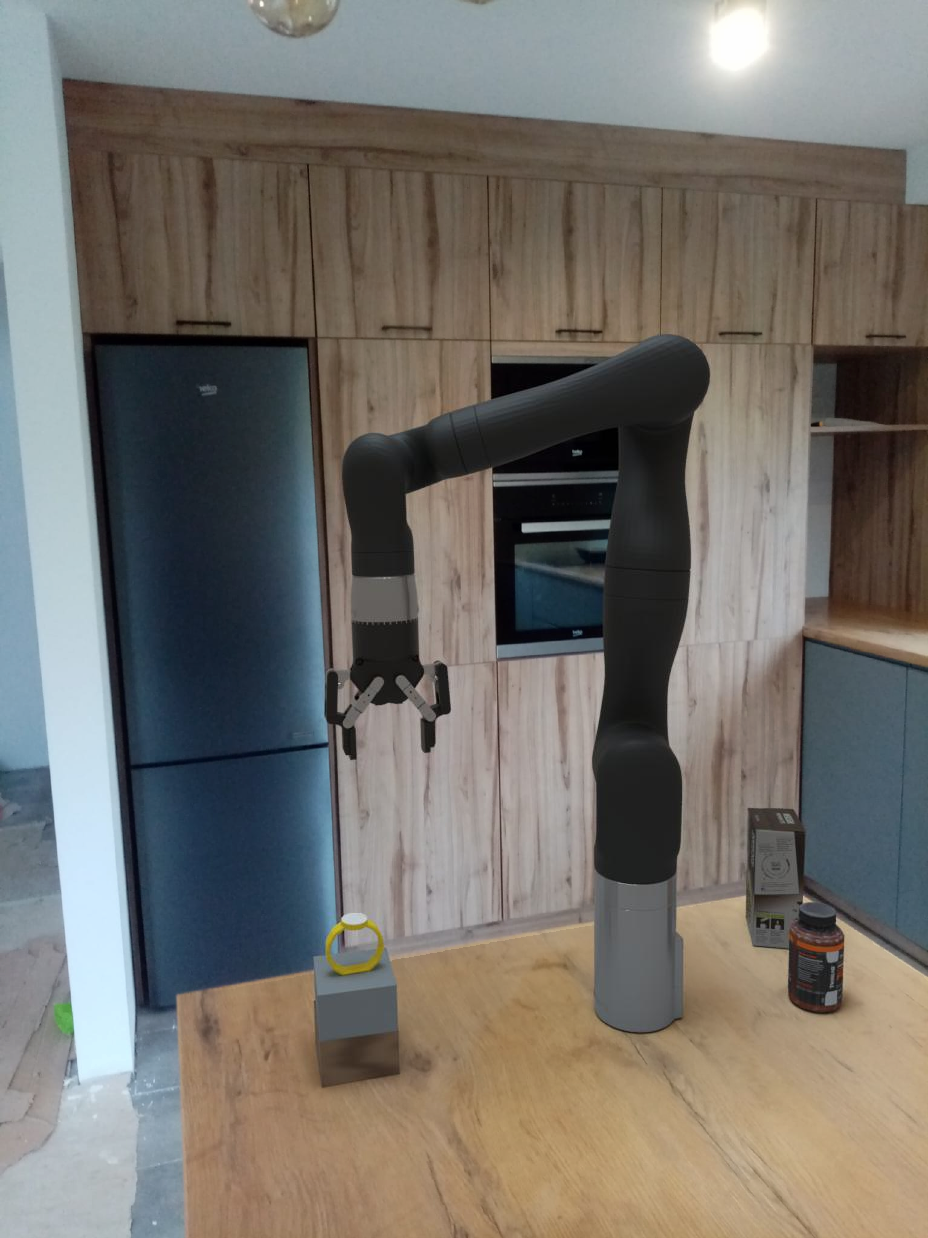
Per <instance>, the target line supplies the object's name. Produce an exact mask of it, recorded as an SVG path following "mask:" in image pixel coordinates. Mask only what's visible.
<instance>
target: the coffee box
mask: <svg viewBox="0 0 928 1238" xmlns="http://www.w3.org/2000/svg"><path fill="white" fill-rule="evenodd" d="M746 809H747V816H746V817H747V818H746V819H747V820H746V869H745V870H746V871H745V872H746V873H745V874H746V876H745V878H746V880H745V881H746V882H745V883H746V884H745V919H746V923H747V926H748V931H749V934H750V935H749V936H750V938H751V943H752V945H753V946H754V947H755V946H757V947H768V948H769V947H770V948H778V949H788V950H789V931H790V926H791V924H792V923H793V922H794V921H795V920H797V919H799V917H798V914H799V906H800V905H801V904H803V903H804V885H805V884H804V883H805V882H804V881H805V880H804V879H805V860H806V859H805V857H806V855H805V853H806V833H807V832H806V828H805V827H804V826H803V824H802V822H801V819H799V816H798V815H797V813H796V811H795V809H793V808H781V807H780V808H779V807H778V808H777V807H775V808H773V807H772V808H771V807H764V808H760V807H759V808H758V807H747V808H746Z"/></svg>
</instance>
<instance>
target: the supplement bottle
mask: <svg viewBox="0 0 928 1238" xmlns="http://www.w3.org/2000/svg"><path fill="white" fill-rule="evenodd" d="M798 917H799V919H797V920H795V921H794V922H793V923H792V924H791V926H790V931H789V949H788V961H787V962H788V965H787V967H788V970H787V971H788V972H787V994H788V996H789V999H790V1000H791V1001H792V1002H793V1003H794V1004H795V1005H797V1006H798V1007H799V1008H802V1009H804V1010H807V1011H811V1012H814V1013H815V1012H816V1013H830V1012H831V1013H832V1012H834V1011H836V1010H838V1009H840V1007H841V1006H842V1001H843V991H844V990H843V989H844V986H843V983H844V960H845V959H844V957H845V956H844V955H845V933H844V931H843V930H842V929H841V927H840V926H838V925H837V911H836V909H835V908H834V907H832V906H831V905H828V904H826V903H823V902H815V901H812V902H811V901H810V902H809V901H807V902H803V904H801V905H800V906H799V914H798Z"/></svg>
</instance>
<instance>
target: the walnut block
mask: <svg viewBox="0 0 928 1238" xmlns="http://www.w3.org/2000/svg"><path fill="white" fill-rule="evenodd" d="M313 1017H314V1036H315V1037H314V1038H315V1039H314V1040H315V1048H316V1057H317V1063H318V1070H319V1071H318V1072H319V1075H320V1083H321V1089H323V1088H328V1087H334V1086H340V1085H345V1084H350V1083H356V1082H357V1083H358V1082H363V1081H368V1080H369V1081H370V1080H375V1079H380V1078H385V1077H390V1076H391V1077H392V1076H397V1075H400V1074H401V1072H400V1046H399V1039H400V1036H399V1030H398V1031H392V1032H385V1033H378V1034H371V1035H364V1036H357V1037H351V1038H344V1039H337V1040H330V1041H323V1042H320V1041H319V1032H318V1022H317V1012H316V1003H315V1000H314V999H313Z"/></svg>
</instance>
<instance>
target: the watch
mask: <svg viewBox="0 0 928 1238" xmlns="http://www.w3.org/2000/svg"><path fill="white" fill-rule="evenodd" d="M365 928H368V929H370V930H372V931H373V932H374V933H375V935H376V936H377V943H378V944H377V946H376V948H375V949H376V951H375V954H374V955H373V956H372V957H371V958H370V959H369V960H368V961H367V962H366V963H362V964H357V965H351V966H345V967H342V966H341V965H339V964H337V963H336V962H334V961H333V959H332V957H331V954H332V953H331V951H332V950H331V949H332V945H333V943H334V941H335V940H336V938H337V936H338V935H339V934H341V933H342V932H343V931H345V930H346V931H358V930H363V929H365ZM384 948H385V946H384V938H383V935H382V933H381V931H380V929H379V927H378V926H377V925H376V924H375V922H373V920H370V919H368V916H367V915H366V914H364V913H361V912H349V913H346V914H344V915H343V916H342V917H340V922H339V923H337V924H335V926H333V927H332V929H330V931H329V934H328V935H327V937H326V939H325V948H324V949H325V955H326V957H327V960H328V962H329V964H330V966H331V968H332V969H333V970H334V971H336V972H337V973H339V974H341V975H342V976H343V975H348V974H354V973H361V972H367V971H368V972H369V971H371V970H372V969H373V968H374V967H375V966H376V965H377V964H378V963H379V961H380V959H381V956H382V953H383V951H384V950H383V949H384Z"/></svg>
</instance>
